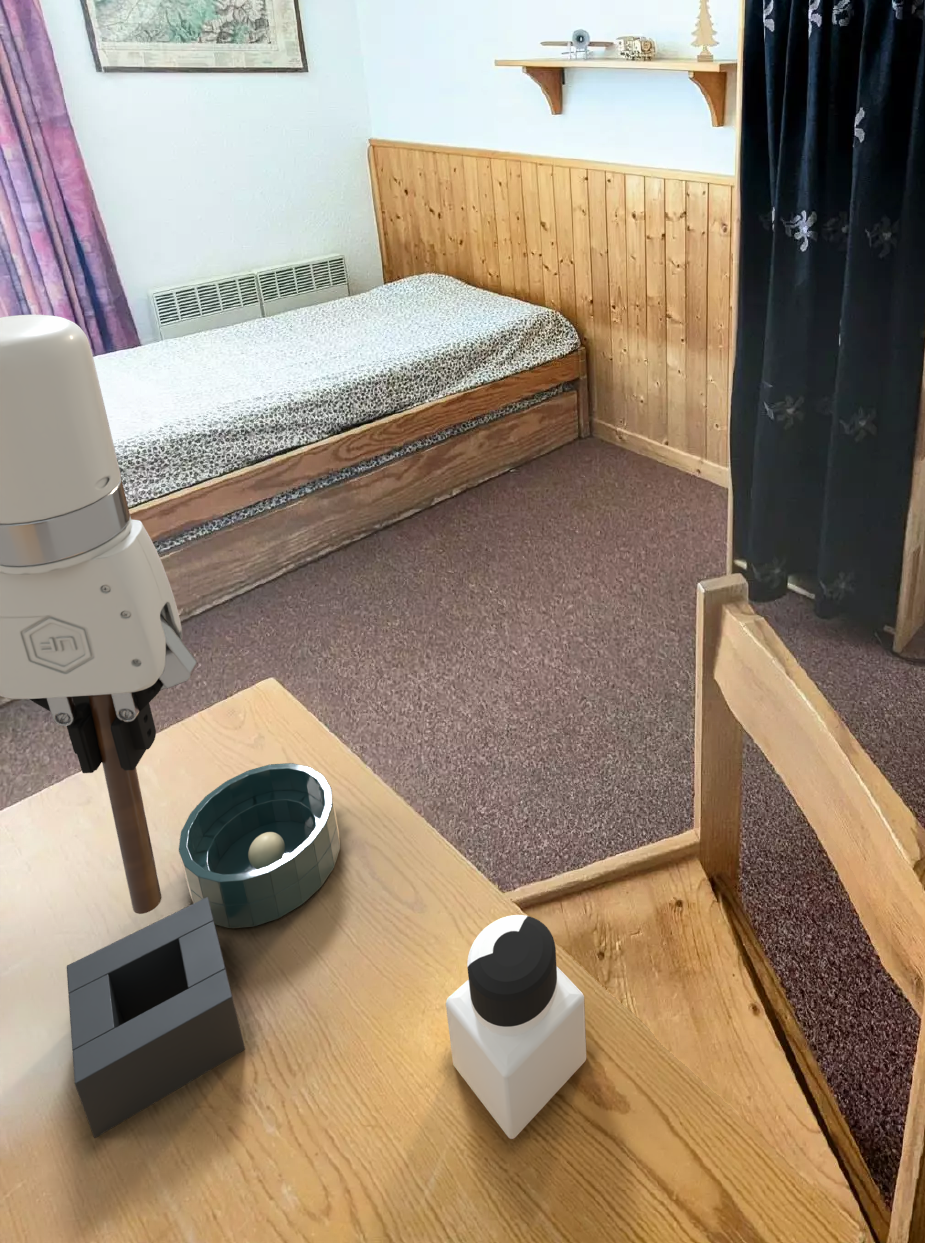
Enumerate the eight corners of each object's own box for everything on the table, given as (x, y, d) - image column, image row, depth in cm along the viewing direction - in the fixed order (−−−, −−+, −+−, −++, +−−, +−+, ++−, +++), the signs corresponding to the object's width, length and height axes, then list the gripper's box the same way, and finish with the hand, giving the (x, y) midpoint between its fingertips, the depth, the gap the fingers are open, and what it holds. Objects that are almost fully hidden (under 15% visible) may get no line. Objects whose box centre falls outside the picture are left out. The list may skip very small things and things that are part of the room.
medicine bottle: (588, 1060, 63) (584, 946, 59) (511, 1144, 59) (501, 1027, 54) (527, 992, 68) (519, 881, 64) (451, 1065, 63) (437, 950, 59)
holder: (84, 1019, 66) (66, 965, 64) (220, 948, 71) (207, 896, 69) (95, 1141, 59) (74, 1084, 57) (245, 1051, 64) (232, 996, 62)
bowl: (166, 938, 72) (152, 886, 70) (224, 814, 84) (213, 767, 82) (318, 927, 73) (308, 876, 71) (355, 806, 85) (347, 759, 82)
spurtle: (129, 916, 61) (82, 698, 56) (137, 895, 62) (93, 681, 57) (157, 911, 61) (113, 694, 56) (165, 890, 63) (123, 677, 58)
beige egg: (238, 844, 76) (257, 868, 75) (270, 818, 78) (289, 841, 77) (244, 860, 78) (263, 883, 77) (275, 835, 80) (293, 857, 79)
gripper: (-132, 560, 48) (-41, 810, 54) (165, 547, 49) (219, 792, 56) (-43, 494, 55) (28, 723, 61) (215, 485, 56) (258, 708, 63)
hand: (119, 754), depth 58 cm, fingers closed on spurtle, 1 cm apart
